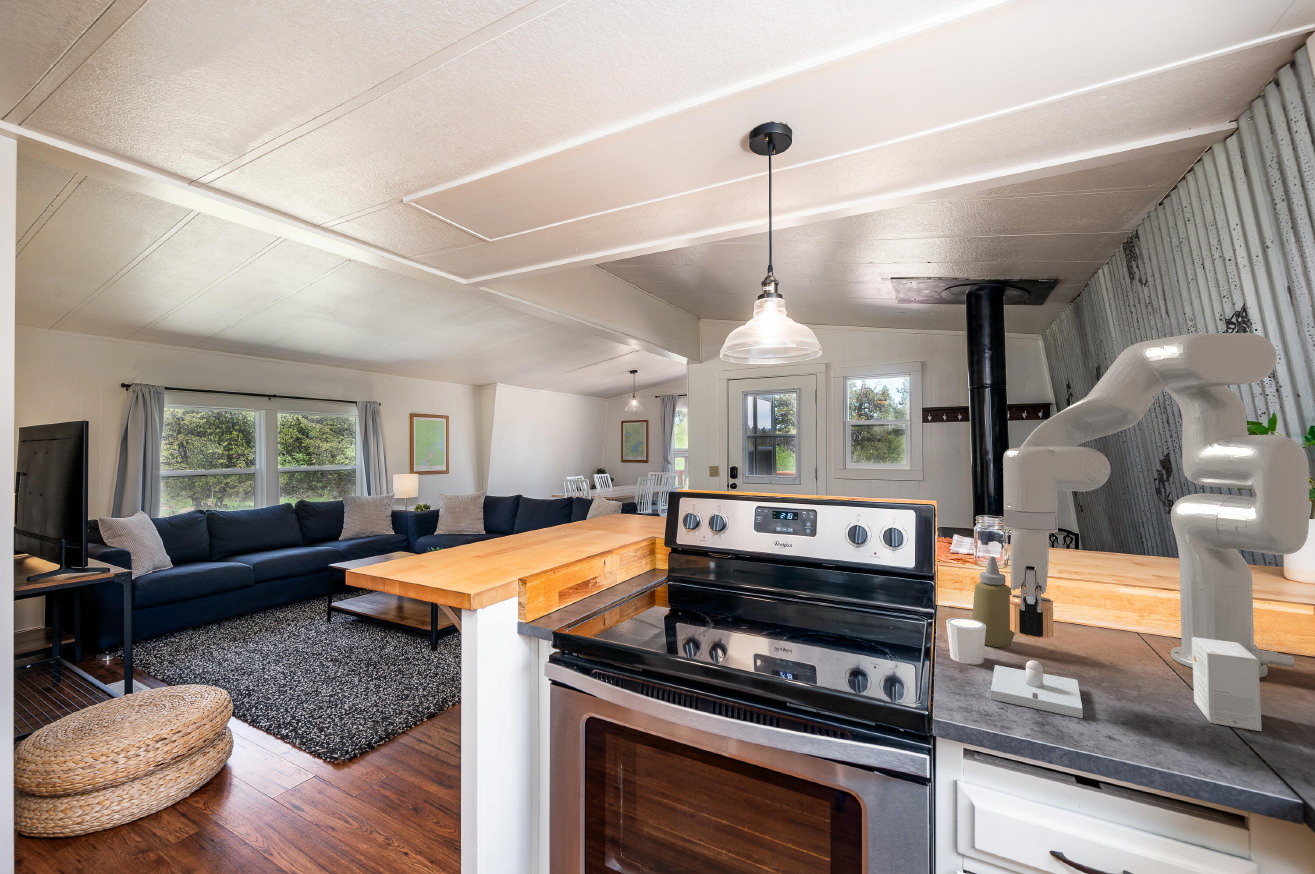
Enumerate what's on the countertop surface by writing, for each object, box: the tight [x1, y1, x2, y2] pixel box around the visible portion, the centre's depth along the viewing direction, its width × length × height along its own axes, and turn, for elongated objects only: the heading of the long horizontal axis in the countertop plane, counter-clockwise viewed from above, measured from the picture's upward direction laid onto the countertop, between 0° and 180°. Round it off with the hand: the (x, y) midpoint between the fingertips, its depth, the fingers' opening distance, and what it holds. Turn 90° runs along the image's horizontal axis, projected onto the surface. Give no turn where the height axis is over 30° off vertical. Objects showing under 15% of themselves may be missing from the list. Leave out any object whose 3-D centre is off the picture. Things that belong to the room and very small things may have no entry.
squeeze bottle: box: [971, 555, 1016, 648], centre depth 116 cm, size 8×8×18 cm
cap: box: [1010, 593, 1054, 639], centre depth 93 cm, size 6×6×6 cm
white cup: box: [945, 617, 986, 665], centre depth 108 cm, size 7×7×7 cm
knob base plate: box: [990, 660, 1084, 719], centre depth 93 cm, size 12×12×6 cm
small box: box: [1192, 637, 1263, 732], centre depth 84 cm, size 8×6×10 cm
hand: (1031, 628), depth 93 cm, fingers closed on cap, 6 cm apart
